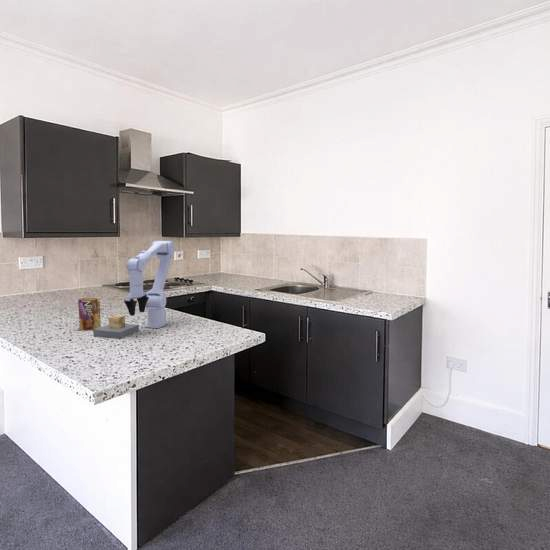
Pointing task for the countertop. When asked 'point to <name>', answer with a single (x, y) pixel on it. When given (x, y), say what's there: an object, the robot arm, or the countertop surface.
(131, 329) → the base block
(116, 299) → the countertop surface
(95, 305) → the candy box
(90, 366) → the countertop surface
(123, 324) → the tan cube
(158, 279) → the robot arm
